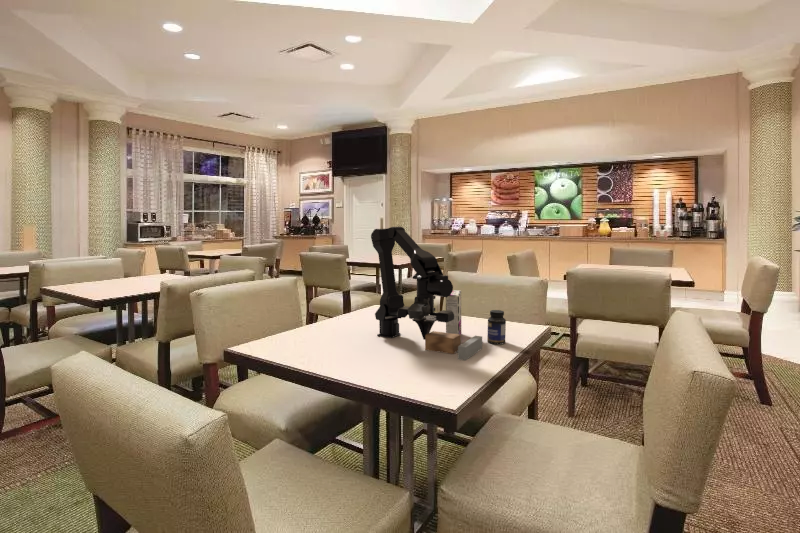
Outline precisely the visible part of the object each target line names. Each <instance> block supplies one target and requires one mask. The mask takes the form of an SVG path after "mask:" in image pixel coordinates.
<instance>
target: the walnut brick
mask: <svg viewBox="0 0 800 533" xmlns="http://www.w3.org/2000/svg"><path fill="white" fill-rule="evenodd" d="M461 340H462V334H461V335H460V334H452V333H446V332H444V331H443V332H442V331H435V330H433V331H430V333H428V334H426V335H425V340H424V341H425V343H424V347H425V348H424V349H425V351H430V352H438V353H442V354H443V353H445V354H450V355H454V354H456V353H458V346H459V345H461V344H462V342H461Z"/></svg>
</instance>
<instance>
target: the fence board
mask: <svg viewBox="0 0 800 533" xmlns="http://www.w3.org/2000/svg"><path fill="white" fill-rule="evenodd" d="M482 349H483V336H481V335H474V336H473V337H471V338H469V339H467V340H466V341H464V342H463V343H461V345H459V346H458V351H457V360H460V361H461V360H462V361H467V360H468V359H469V358H470V357H472V356H473V355H475V354H476V353H478V352H479V351H480V350H482Z"/></svg>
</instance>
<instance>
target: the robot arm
mask: <svg viewBox="0 0 800 533" xmlns="http://www.w3.org/2000/svg"><path fill="white" fill-rule="evenodd" d="M370 240H371V244H372V247H373V249H374V250H375V251H376V252H377V254H378V261H379V270H380V278H381V286H382V295H381V297H380V299H379V306H378V309H377V310H376V312H375V313H374V317H375V320H376V321H377V320H378V322H379V326H378V328H379V333H378V334H377V337H381V338H382V337H383V338H391V339H393V338H395V337H397V336H399V335H401V332H400V323H399V319H402V318H404V319H405V318H406V317H408V318H409V319H410V320H412V322H415V323H416V324H417V326H418V328H419V330H420V333H421V336H422V340H424V341H425V335H426V334H428V333H430V332H431V330H432V329H433V328H432V327H433V326H434V324H435V322H439V323H446V322H450V321H452V320H454V313H453V312H452V311H446V309H445V310H440V311H437V312H436V307H435V300H436V299H437V298H436V296H438V297H442V298H446V297H448V296H450V295H451V293H452V291H453V289H454V285H453V283H452V281H451V280H450V279H449V276H448V275H446V274H444V273H443V271H442V268H441V267H440V265H439V263H438V260H437V258H436V256H435V255H433V254H432V253H431V252H429V251H426V250H424V249H423V248H421V247H420V246H419V245H418V244H417V243H416V241H415V240H414V239H413V238H412V237H411V235H409V234H408V232H406V230H405V228H404V227H403V226H390V227H387V228H374V229H373V231H372V232H371V235H370ZM395 244H397V245H398V246H399V247H400V248H401V250H402V251H403V253H405V254H406V255H407V257H408V258H409V260H410V262H409V263H410V265H411V267H412V268H413V269H412V270H414V272H415V274H414V275H413V276H412V279H413V280H416V296H414V301H413V303H412V304H411V305H410V306H406V305H405V302H404V296H403V294H400V293H399V291H397V283H396V276H395V268H394V259H393V250H394V248H395V246H396V245H395Z"/></svg>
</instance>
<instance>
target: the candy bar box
mask: <svg viewBox="0 0 800 533" xmlns="http://www.w3.org/2000/svg"><path fill="white" fill-rule="evenodd" d="M445 310H446V311H452V312H453V313H454V320H452V321H450V322H445V333H452V334H460V335H461V336H462V334H463V333H462V290H457V289H456V290H453V291H452V293H451V295H450V296H448V297H445Z"/></svg>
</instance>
